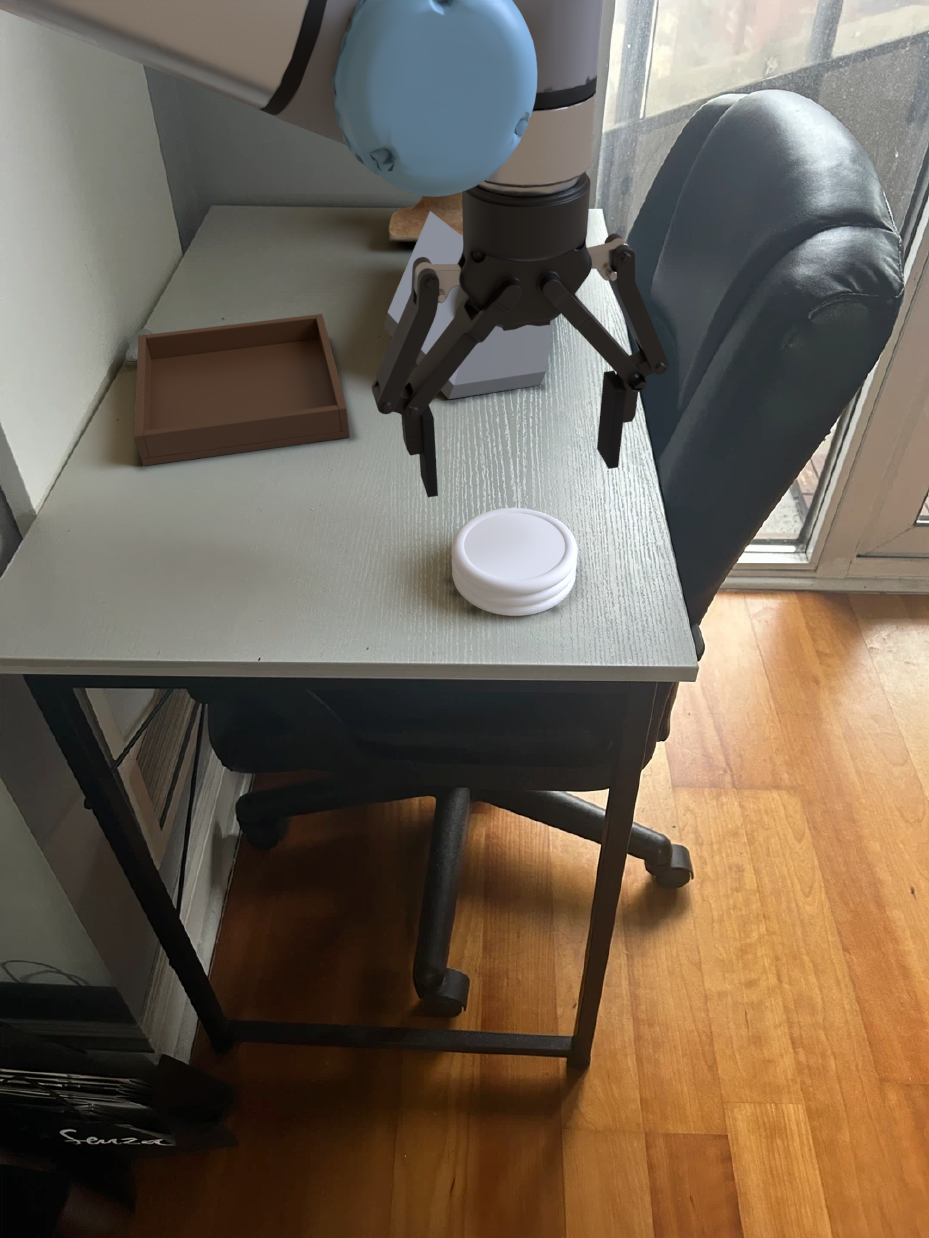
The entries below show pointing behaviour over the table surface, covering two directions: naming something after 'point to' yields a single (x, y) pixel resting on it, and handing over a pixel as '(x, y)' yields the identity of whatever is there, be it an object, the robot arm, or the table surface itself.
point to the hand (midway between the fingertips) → (519, 472)
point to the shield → (491, 362)
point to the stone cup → (412, 219)
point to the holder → (236, 389)
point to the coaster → (514, 561)
